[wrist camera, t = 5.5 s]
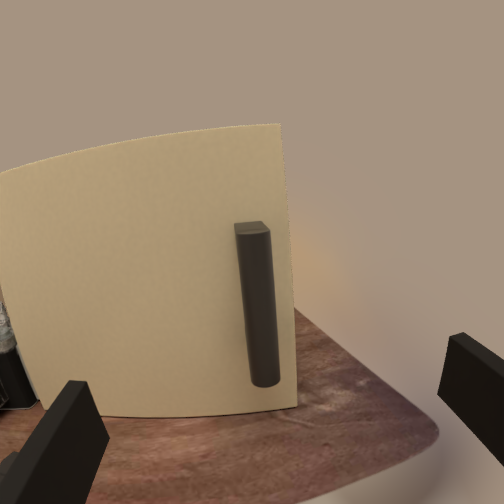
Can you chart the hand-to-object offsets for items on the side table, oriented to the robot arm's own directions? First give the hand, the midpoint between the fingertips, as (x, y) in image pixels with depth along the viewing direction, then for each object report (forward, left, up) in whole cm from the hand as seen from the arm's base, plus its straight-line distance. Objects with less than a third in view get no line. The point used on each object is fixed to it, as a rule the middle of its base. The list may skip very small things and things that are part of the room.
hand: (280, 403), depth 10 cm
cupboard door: (+15, -6, -13) cm, 20 cm away
